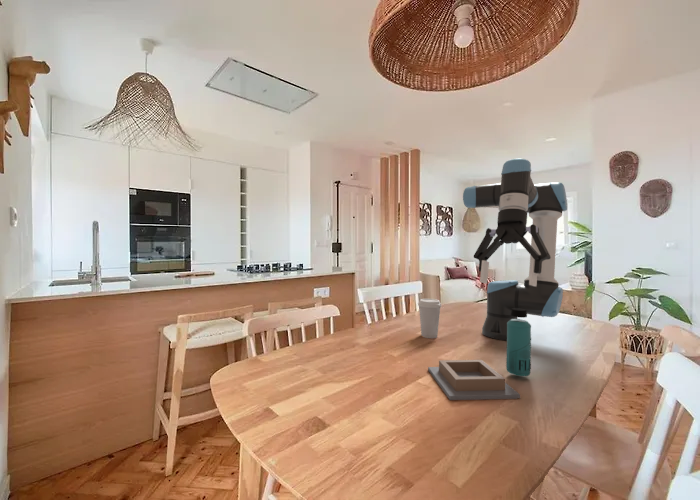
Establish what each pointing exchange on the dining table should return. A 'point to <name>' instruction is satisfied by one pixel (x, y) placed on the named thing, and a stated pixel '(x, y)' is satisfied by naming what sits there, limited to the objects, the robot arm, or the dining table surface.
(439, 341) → the dining table surface
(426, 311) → the coffee cup
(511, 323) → the beverage bottle
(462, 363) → the bottle stand
